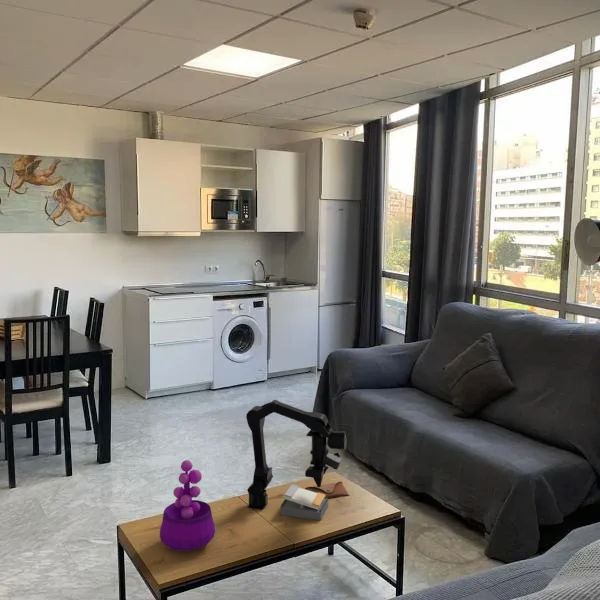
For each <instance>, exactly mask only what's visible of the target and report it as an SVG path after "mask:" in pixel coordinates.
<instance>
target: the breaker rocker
mask: <svg viewBox="0 0 600 600" xmlns="http://www.w3.org/2000/svg"><path fill="white" fill-rule="evenodd" d="M283 499H284V500H285V499H287V500H290V501H293V502H296V503H299V504H302V505H305V506H308V507H311V508H314V509H317V510H319V508H320V506H321V504H322V502H323V501H324V499H325V494H322V493H319V492H318V493H315V492H312V491H309V490H306V489H305V488H302V487H300V486H299V485H296V484H293V483H292V484H291V485H290V487H289V488H288V489H287V490H286V492H284V494H283Z"/></svg>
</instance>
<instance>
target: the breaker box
mask: <svg viewBox="0 0 600 600" xmlns="http://www.w3.org/2000/svg"><path fill="white" fill-rule="evenodd" d="M328 508H329V499H328V498H326V499H324V501H323V502H322V504H321V506H320V508H319V510H317V509H314V508H311V507H308V506H305V505H302V504H299V503H296V502H293V501H290V500H287V499H284V500H283V501H282V503H281V505H280V509H279V510H280V516H286V517H287V516H288V517H293V518H294V517H295V518H302V519H309V520H316V521H322V519H323V517H324V515H325V514H326V513H327V512H326V511H327V510H328Z"/></svg>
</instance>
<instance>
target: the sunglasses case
mask: <svg viewBox="0 0 600 600" xmlns="http://www.w3.org/2000/svg"><path fill="white" fill-rule="evenodd" d="M304 489H306V490H309V491H312V492H315V493H318V492H319V493H322V494H325V499H326V498H328V500H330V499H331V500H332V499H336V498H340V496H342V497H349V496H350V494H349V493H348V491H347V490H346V488H345V486H344V484H343V481H337V482H333V483H325V484H321V486H320V487H317V485H314V486H307V487H305V488H304Z"/></svg>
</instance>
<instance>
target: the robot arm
mask: <svg viewBox="0 0 600 600" xmlns="http://www.w3.org/2000/svg"><path fill="white" fill-rule="evenodd" d="M273 413H275V414H277V415H280V416H283V417H285V418H289V419H291V420H294V421H296V422H299V423H301V424H303V425H304V426H305V427H306V428H308V429H309V431H307V433H306V437H311V450H310V452H309V453H310V455H311V460H310V462H309V464H310V466H309V467H307V468H306V470H305V474H304V475H305V476H304V477H306V478H313V480H314V482H315V484H316V485H315V486H317V487H320V486H321V485H322V482H323V479H324V475H325V473H326V472H327V471H328V469H329V467H330V468H332V469H333V470H338V469H339V468H340V466H341V462H342V460H343V459H342V457H341V453H340V452H339V451H340V450H341V451H342V450H344V451H346V449H347V443H348V442H347V441H348V440H347V438H348V437H347V435H346V431H345V430H342V431H337V430H334V429H333V427H332V425H331V424H330V422H329V420H328V417H327V415H326V414H324V413H321V412H316V411H306V410H303V409H300V408H297V407H295V406H293V405H289V404H287V403H284V402H281V401H279V400H278V399H274V400H272V401H270V402H267V403H264V404H262V405H254V406H253V407H252V408H251V409H250V410H249V411H248V412H246V416H245V419H246V422H247V425H248V427H249V430H250V431H251V436H252V437H251V438H252V439H251V440H252V446H253V457H254V458H253V459H254V465H255V466H254V471H253V479H252V483H251V484H250V485H249V487H248V488H247V492H248V504H247V509H253V510H260V511H262V510H264V509H265V508H266V506H268V504H269V501H268V499H269V498H268V495H269V494H268V493H267V487H268V486H269V485H270V483H271V482H272V479H273V478H274V475H273V467H269V466H268V464H267V454H266V446H265V436H264V426H265V423H266V421H265V420H266V417H268V416H270V415H272V414H273ZM327 446H328V447H327ZM329 449H331V450H339V451H335V452H334V453H330V452H329Z"/></svg>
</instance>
